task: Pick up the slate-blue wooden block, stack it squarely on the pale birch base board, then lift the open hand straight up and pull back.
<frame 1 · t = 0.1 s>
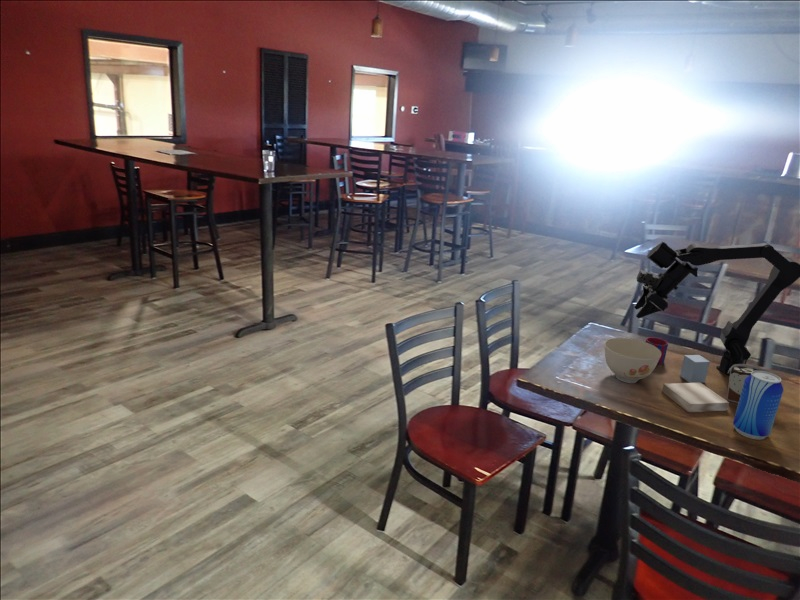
hand: (636, 312, 189), 15 cm above the table, tool tilted 30°, fingers open, 9 cm apart
bowl: (626, 378, 177), on the table
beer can: (750, 433, 150), on the table
mug: (654, 359, 192), on the table
slate block: (692, 379, 179), on the table
birch base: (693, 400, 165), on the table
food container: (745, 401, 167), on the table
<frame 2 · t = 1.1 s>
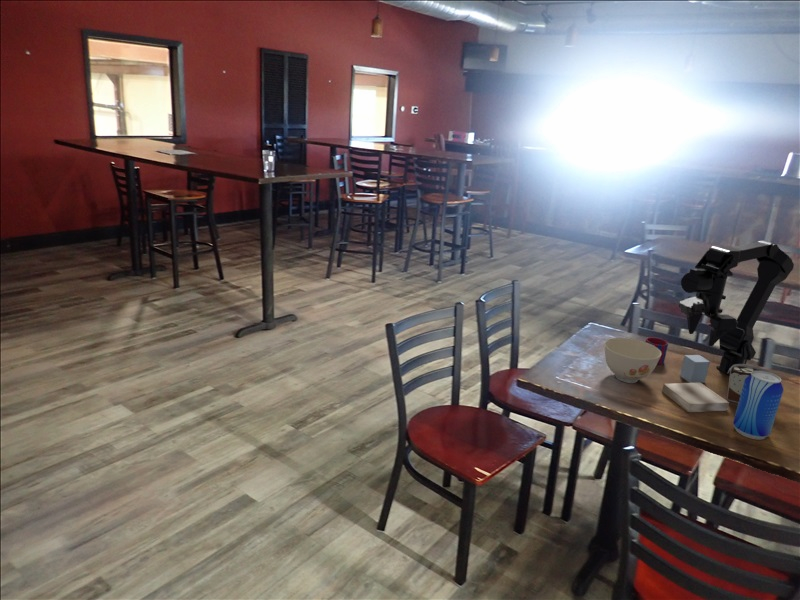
hand: (700, 339, 175), 13 cm above the table, tool pointing down, fingers open, 9 cm apart
nothing on the table moved.
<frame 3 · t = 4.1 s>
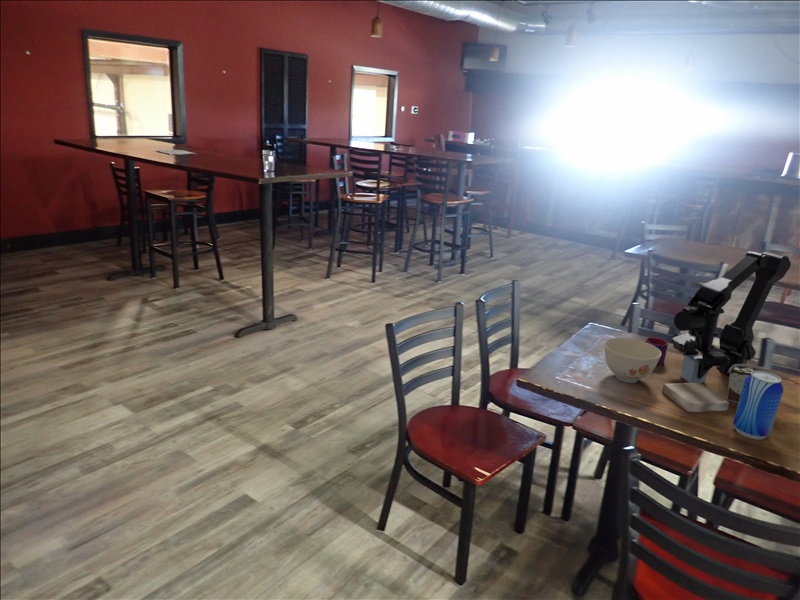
hand: (693, 374, 178), 2 cm above the table, tool pointing down, fingers closed on slate block, 5 cm apart
slate block: (692, 379, 179), on the table, touching gripper
everything else where it was.
when the fingers open (5 cm above the table, at t = 9.0 s): slate block drops 1 cm, resting on birch base.
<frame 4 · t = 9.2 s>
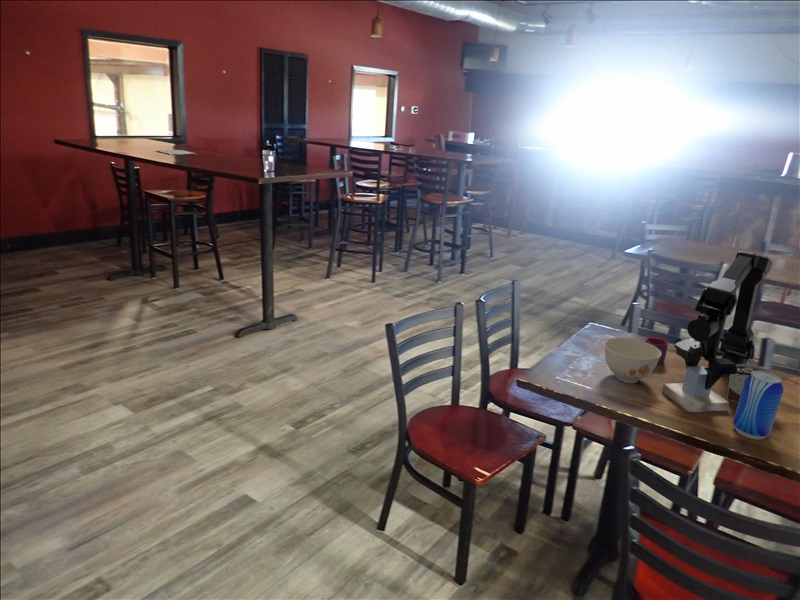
hand: (697, 383, 163), 5 cm above the table, tool pointing down, fingers open, 7 cm apart
slate block: (695, 392, 164), point 2 cm above the table, touching birch base
everything else where it was.
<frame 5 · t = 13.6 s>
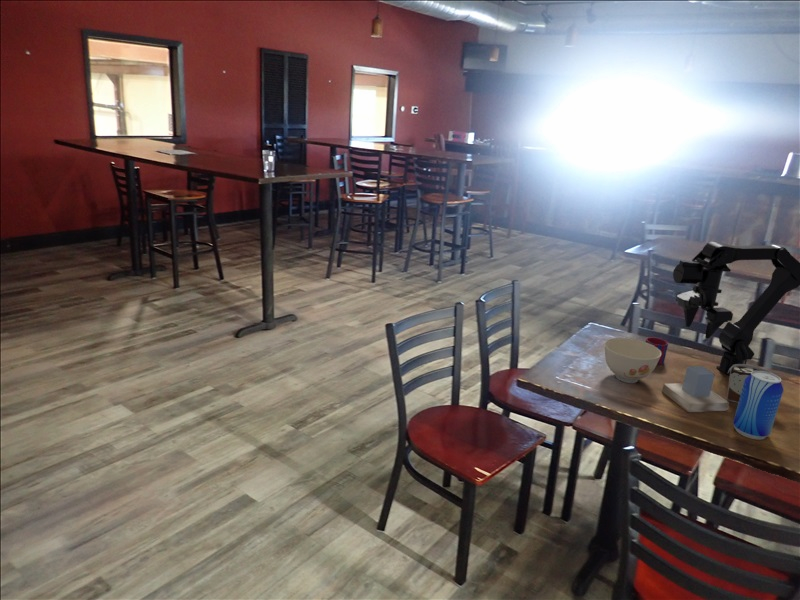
hand: (697, 332, 181), 13 cm above the table, tool pointing down, fingers open, 9 cm apart
nothing on the table moved.
at the end: slate block inside the target area on the birch base (0.1 cm from its centre), point 2.5 cm above the birch base's base; slate block tilted 0°; the gripper is holding nothing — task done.
